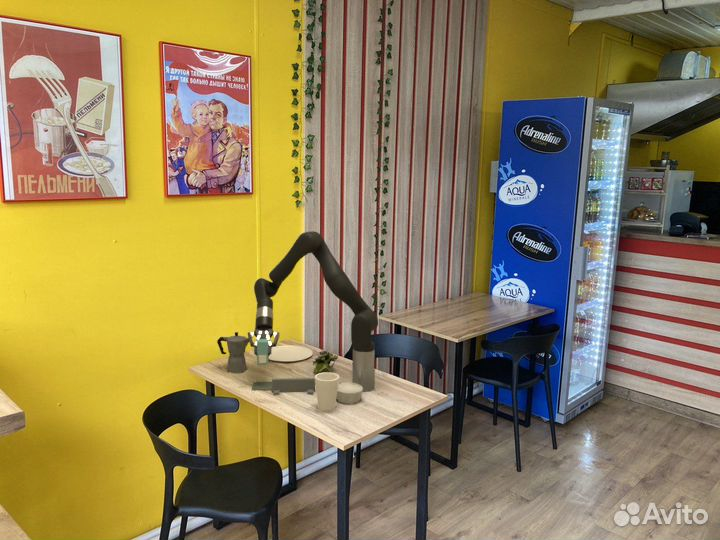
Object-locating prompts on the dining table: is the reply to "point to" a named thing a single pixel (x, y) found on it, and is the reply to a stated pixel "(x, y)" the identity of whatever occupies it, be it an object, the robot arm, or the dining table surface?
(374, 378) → the robot arm
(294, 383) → the screen
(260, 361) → the block
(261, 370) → the dining table surface
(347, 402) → the ramekin
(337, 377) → the foam cup
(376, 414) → the dining table surface
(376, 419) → the dining table surface
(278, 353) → the plate
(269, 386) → the mat
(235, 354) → the coffeepot
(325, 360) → the passion flower
